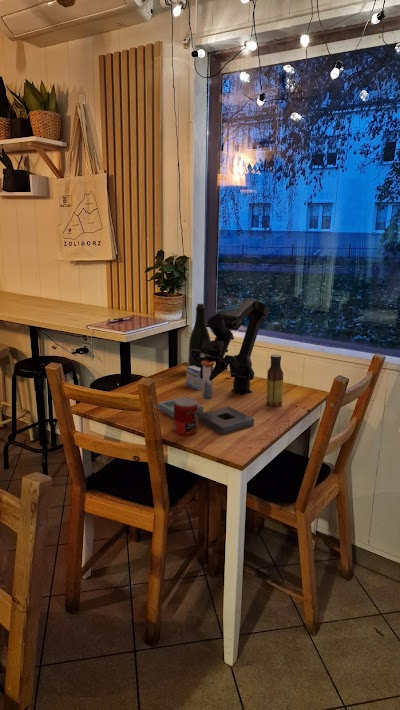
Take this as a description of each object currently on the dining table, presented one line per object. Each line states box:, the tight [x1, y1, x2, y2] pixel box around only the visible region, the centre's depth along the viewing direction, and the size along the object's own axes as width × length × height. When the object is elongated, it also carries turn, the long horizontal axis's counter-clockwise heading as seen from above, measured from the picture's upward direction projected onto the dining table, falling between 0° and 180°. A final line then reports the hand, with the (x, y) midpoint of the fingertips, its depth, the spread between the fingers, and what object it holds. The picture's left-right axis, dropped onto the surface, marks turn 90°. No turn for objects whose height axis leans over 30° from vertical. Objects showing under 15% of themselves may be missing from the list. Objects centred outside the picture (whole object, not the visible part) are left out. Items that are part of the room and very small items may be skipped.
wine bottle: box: [187, 303, 211, 368], centre depth 219 cm, size 10×10×33 cm
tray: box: [157, 398, 204, 419], centre depth 177 cm, size 12×12×2 cm
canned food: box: [173, 396, 199, 437], centre depth 159 cm, size 8×8×11 cm
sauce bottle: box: [266, 353, 284, 407], centre depth 185 cm, size 7×6×20 cm
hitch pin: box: [201, 359, 215, 400], centre depth 173 cm, size 5×5×14 cm
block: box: [197, 405, 255, 435], centre depth 168 cm, size 14×14×2 cm
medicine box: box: [185, 366, 203, 391], centre depth 204 cm, size 8×4×9 cm, turn 42°
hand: (205, 379), depth 172 cm, fingers closed on hitch pin, 4 cm apart
